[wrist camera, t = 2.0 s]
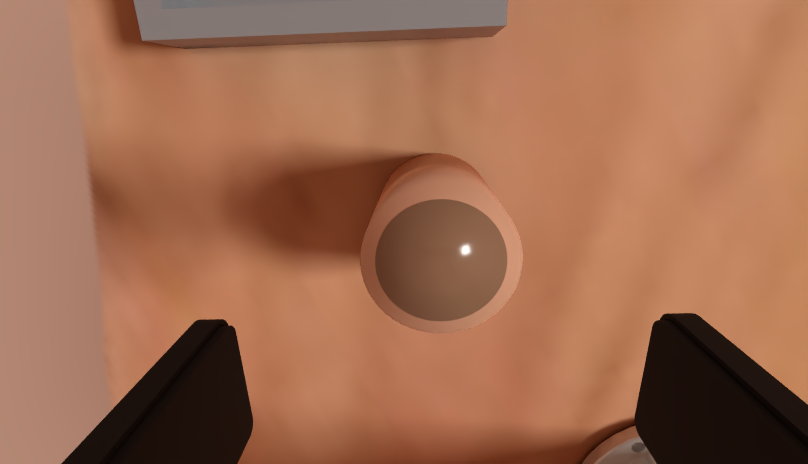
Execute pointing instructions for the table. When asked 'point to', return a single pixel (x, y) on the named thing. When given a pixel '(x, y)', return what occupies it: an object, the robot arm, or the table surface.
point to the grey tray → (313, 21)
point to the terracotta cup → (440, 247)
